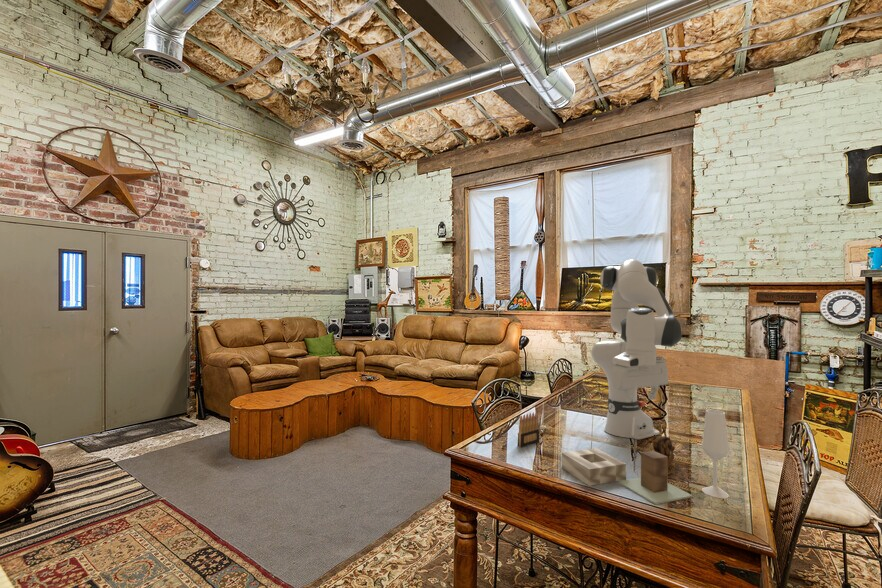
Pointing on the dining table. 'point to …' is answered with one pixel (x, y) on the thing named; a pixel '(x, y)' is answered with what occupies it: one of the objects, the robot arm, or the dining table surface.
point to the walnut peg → (654, 471)
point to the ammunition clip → (528, 430)
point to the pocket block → (593, 466)
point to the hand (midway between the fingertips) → (640, 400)
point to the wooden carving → (664, 447)
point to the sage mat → (655, 498)
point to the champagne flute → (715, 447)
